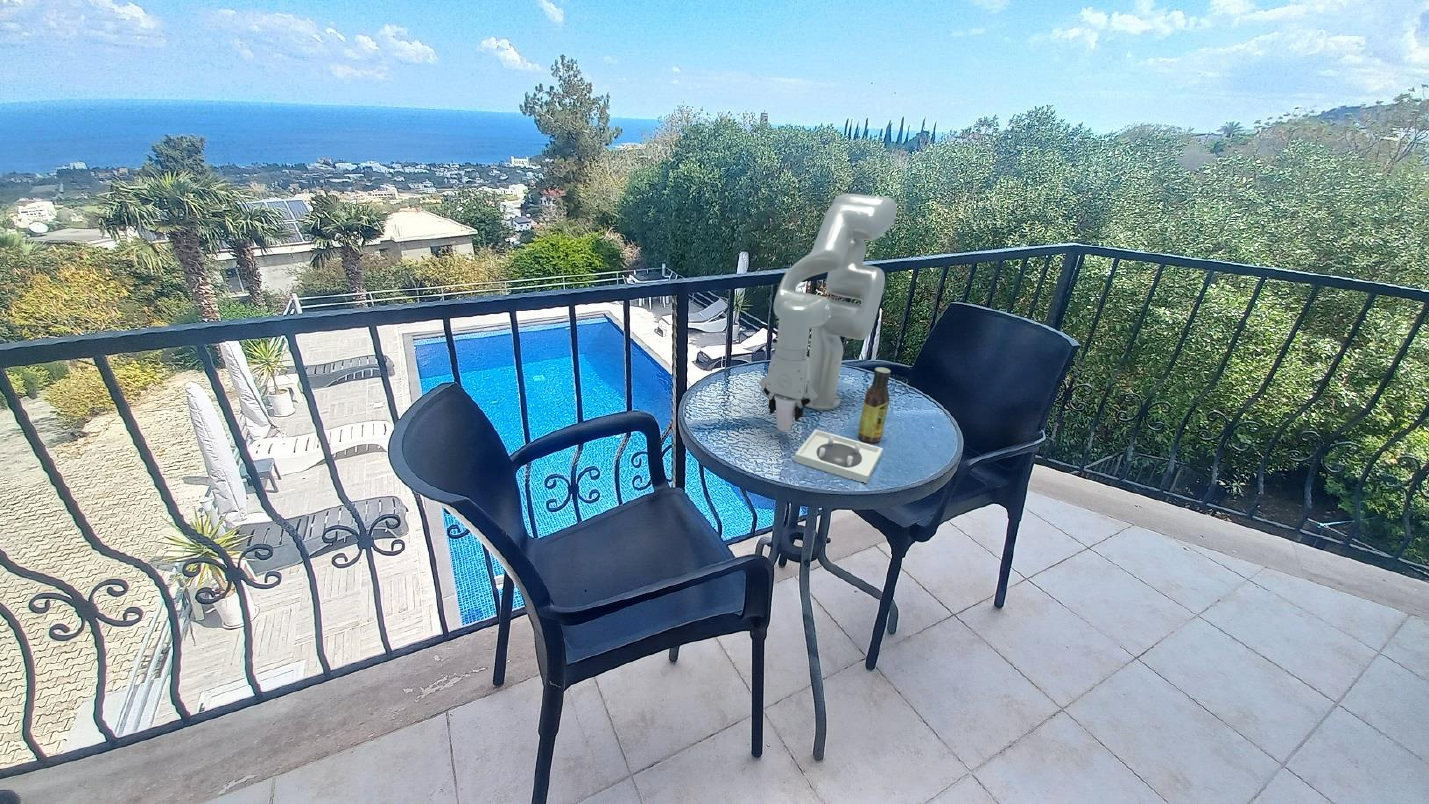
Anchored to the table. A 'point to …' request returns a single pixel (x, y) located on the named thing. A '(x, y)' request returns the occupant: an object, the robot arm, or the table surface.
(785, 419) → the smoothie
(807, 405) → the robot arm
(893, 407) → the table surface
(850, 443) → the pin tray
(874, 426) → the sauce bottle
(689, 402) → the table surface
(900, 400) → the table surface
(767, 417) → the table surface
